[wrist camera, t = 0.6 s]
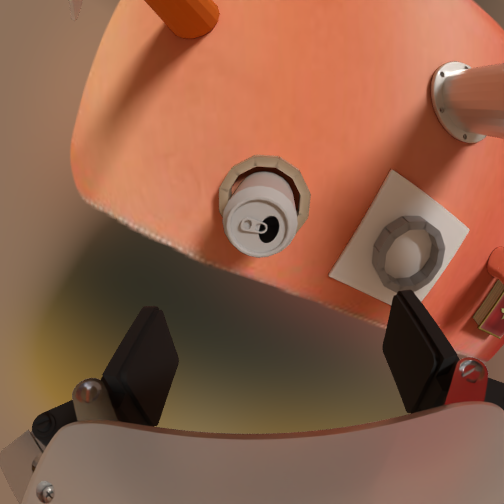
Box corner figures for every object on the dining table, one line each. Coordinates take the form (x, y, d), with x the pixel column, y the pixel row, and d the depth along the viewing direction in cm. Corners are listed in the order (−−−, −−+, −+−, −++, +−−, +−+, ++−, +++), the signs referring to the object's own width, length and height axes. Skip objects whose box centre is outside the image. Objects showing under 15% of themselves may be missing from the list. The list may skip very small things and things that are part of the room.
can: (282, 231, 39) (282, 274, 28) (230, 213, 38) (210, 250, 28) (301, 181, 36) (310, 205, 25) (246, 162, 35) (231, 178, 24)
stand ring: (284, 140, 33) (284, 141, 31) (321, 217, 37) (323, 223, 35) (207, 179, 37) (202, 183, 34) (247, 249, 40) (245, 257, 38)
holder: (390, 168, 33) (399, 172, 31) (467, 228, 35) (477, 235, 32) (328, 274, 41) (331, 285, 38) (409, 312, 43) (415, 323, 40)
